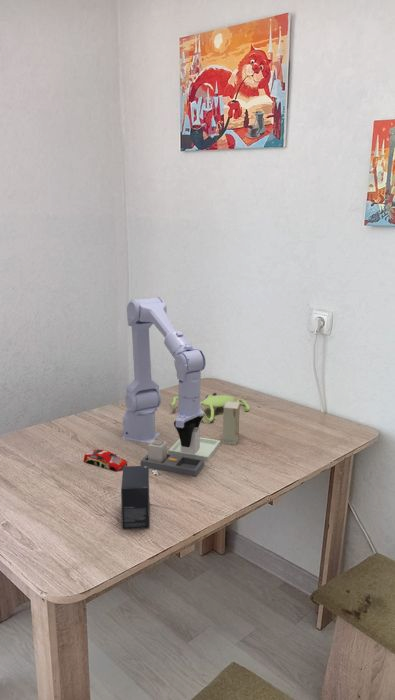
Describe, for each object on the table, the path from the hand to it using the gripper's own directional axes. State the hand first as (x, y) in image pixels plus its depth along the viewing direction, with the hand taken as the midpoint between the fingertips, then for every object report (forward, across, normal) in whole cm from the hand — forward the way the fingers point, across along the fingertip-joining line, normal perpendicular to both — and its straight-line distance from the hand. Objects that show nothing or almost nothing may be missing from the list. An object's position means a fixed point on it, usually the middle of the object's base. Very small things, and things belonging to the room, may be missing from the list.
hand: (188, 442), depth 151 cm
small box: (+9, -26, +4) cm, 27 cm away
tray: (+8, +12, +2) cm, 15 cm away
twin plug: (+8, 0, +9) cm, 12 cm away
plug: (+2, 0, 0) cm, 2 cm away
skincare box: (+8, +22, -6) cm, 25 cm away
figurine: (+9, +45, +9) cm, 46 cm away
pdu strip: (+8, 0, +4) cm, 9 cm away
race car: (+9, -5, +22) cm, 25 cm away
